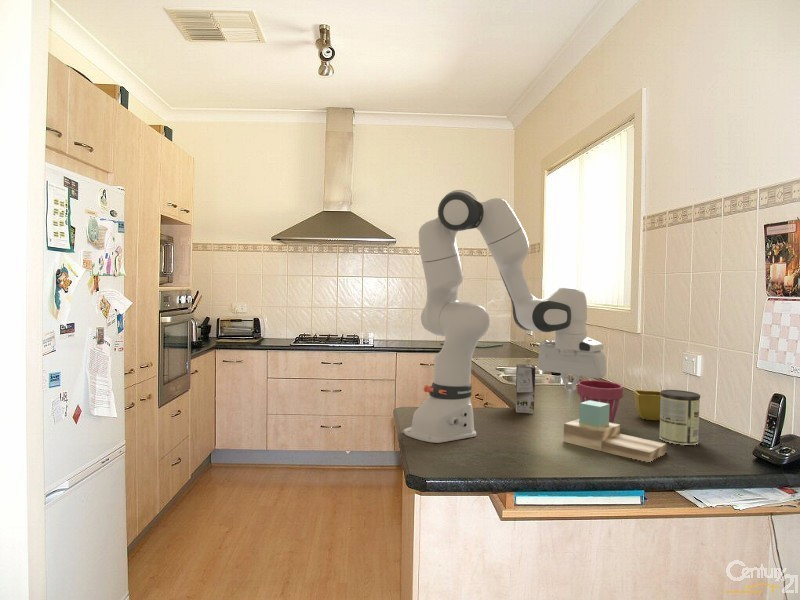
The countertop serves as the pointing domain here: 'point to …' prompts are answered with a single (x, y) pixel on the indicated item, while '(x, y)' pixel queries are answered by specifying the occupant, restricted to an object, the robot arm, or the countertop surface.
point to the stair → (612, 441)
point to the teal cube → (594, 414)
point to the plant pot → (601, 394)
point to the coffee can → (679, 417)
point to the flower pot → (648, 404)
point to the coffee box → (525, 388)
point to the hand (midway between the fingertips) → (570, 389)
